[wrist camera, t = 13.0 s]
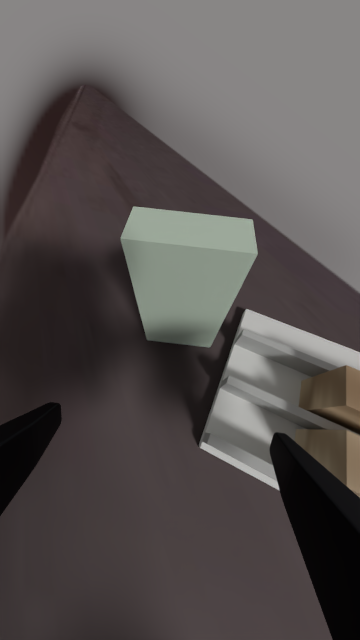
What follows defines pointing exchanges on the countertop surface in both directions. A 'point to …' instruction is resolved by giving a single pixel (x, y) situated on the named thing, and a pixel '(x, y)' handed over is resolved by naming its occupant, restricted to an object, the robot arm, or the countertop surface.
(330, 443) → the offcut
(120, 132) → the countertop surface
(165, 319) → the sage green block
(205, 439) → the rack
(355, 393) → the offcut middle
